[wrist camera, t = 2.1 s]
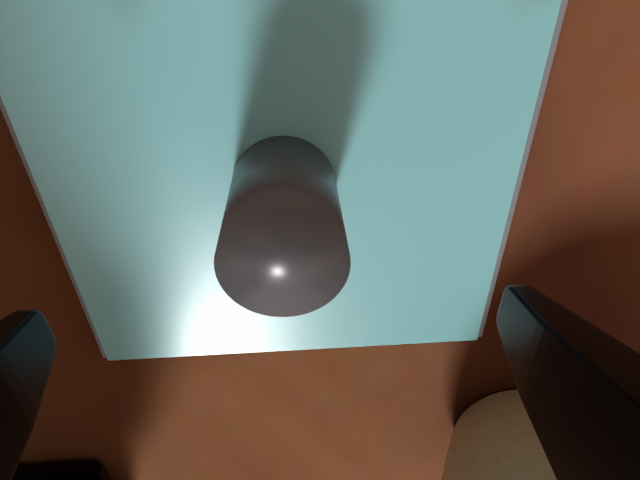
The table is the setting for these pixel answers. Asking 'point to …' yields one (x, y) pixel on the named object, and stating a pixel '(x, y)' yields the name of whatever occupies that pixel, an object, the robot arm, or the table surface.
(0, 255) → the table surface
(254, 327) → the cover
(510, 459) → the flower pot
